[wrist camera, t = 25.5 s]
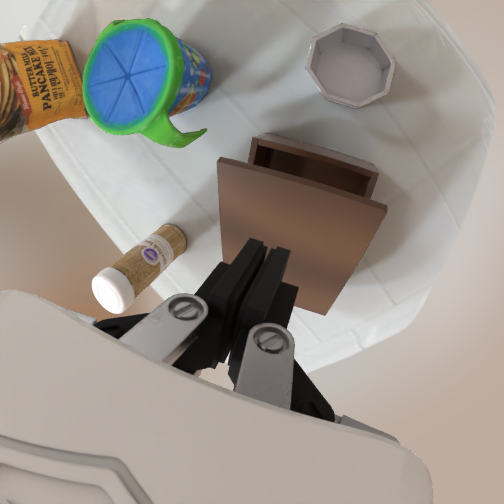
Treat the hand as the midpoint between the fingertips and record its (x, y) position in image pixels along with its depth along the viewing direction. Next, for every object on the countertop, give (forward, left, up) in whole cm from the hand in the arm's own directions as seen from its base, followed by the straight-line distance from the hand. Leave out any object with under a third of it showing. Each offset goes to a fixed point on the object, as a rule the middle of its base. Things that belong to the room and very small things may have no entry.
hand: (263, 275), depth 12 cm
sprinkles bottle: (+13, -15, -20) cm, 28 cm away
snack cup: (-7, -16, -20) cm, 27 cm away
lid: (+5, 0, -12) cm, 13 cm away
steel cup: (-11, +1, -20) cm, 23 cm away
